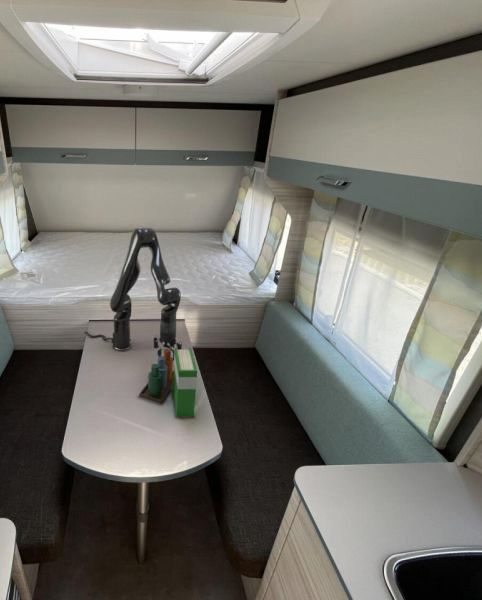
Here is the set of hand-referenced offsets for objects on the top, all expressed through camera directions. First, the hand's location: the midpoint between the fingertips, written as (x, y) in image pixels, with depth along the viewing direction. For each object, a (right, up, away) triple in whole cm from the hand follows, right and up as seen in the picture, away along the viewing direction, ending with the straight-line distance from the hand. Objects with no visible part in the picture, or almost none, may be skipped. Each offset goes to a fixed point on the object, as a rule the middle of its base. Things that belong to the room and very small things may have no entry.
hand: (167, 358), depth 160 cm
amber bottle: (0, -11, +5) cm, 12 cm away
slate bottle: (-3, -13, -1) cm, 14 cm away
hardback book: (+6, -19, -11) cm, 23 cm away
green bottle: (-6, -16, -7) cm, 18 cm away
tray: (-3, -14, -1) cm, 14 cm away
